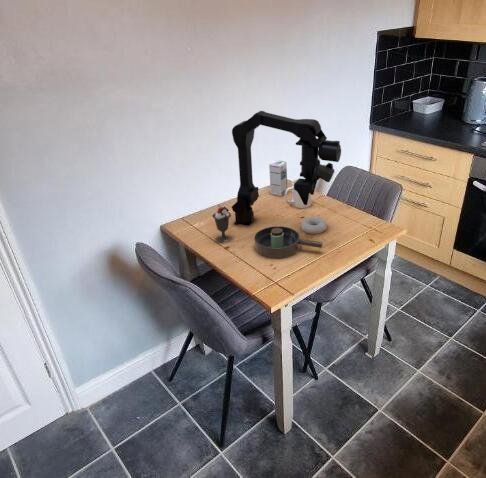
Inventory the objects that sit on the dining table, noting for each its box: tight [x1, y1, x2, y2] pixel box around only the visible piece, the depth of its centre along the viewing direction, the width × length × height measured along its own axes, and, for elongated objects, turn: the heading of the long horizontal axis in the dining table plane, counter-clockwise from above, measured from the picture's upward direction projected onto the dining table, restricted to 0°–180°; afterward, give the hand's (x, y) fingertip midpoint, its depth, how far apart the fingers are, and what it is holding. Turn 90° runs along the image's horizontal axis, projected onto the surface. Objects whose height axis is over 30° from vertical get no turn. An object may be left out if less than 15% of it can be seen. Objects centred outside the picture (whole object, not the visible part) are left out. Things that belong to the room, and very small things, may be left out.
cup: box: [284, 178, 313, 209], centre depth 182 cm, size 8×12×10 cm
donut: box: [300, 216, 328, 235], centre depth 165 cm, size 10×4×10 cm
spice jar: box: [271, 228, 284, 248], centre depth 152 cm, size 5×5×7 cm
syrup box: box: [268, 159, 288, 197], centre depth 192 cm, size 6×6×14 cm
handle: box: [298, 239, 324, 249], centre depth 149 cm, size 8×2×2 cm, turn 72°
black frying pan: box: [253, 225, 301, 260], centre depth 153 cm, size 16×16×4 cm
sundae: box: [211, 204, 232, 244], centre depth 156 cm, size 7×7×15 cm
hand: (308, 199), depth 155 cm, fingers open, 9 cm apart
